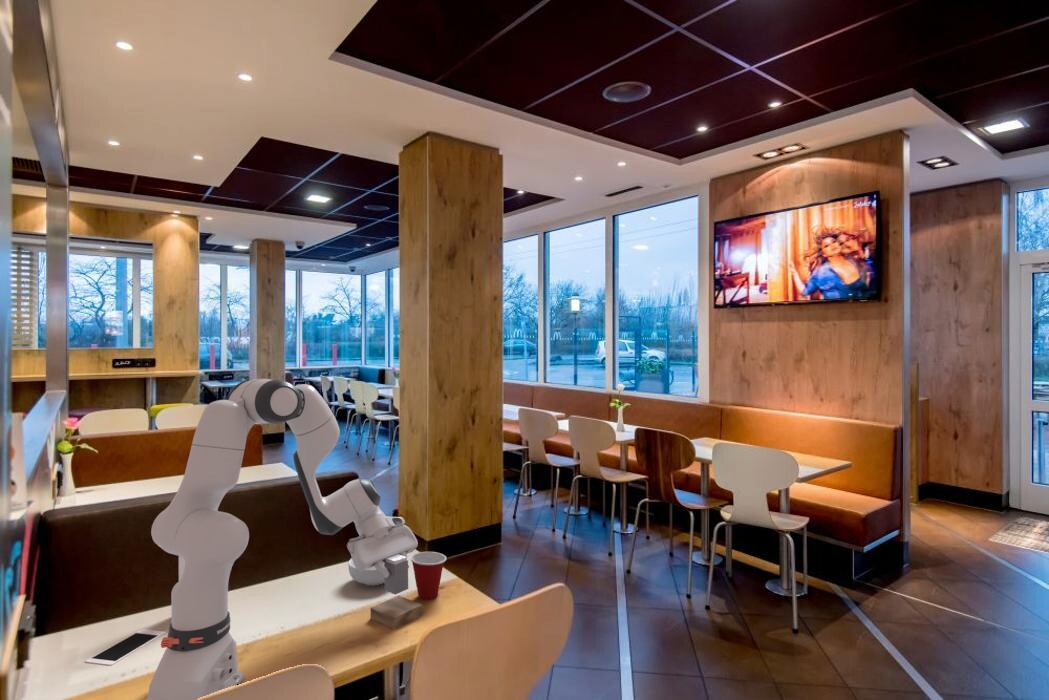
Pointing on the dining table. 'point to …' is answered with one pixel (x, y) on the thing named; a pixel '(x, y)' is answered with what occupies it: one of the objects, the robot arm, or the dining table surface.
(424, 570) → the plastic cup
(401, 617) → the base block
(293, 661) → the dining table surface
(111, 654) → the cell phone
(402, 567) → the salt shaker
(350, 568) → the cereal bowl
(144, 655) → the dining table surface
